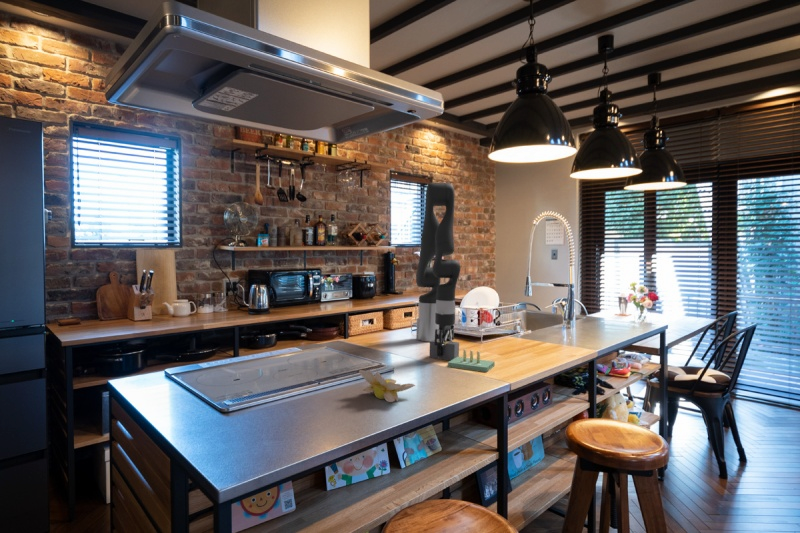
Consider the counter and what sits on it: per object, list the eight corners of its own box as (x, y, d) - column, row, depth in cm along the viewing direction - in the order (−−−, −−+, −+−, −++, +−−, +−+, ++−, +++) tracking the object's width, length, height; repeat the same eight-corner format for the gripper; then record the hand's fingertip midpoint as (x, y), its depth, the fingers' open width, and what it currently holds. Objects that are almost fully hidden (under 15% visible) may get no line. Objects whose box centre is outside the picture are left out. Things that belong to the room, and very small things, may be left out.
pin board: (447, 366, 158) (448, 351, 158) (457, 360, 167) (457, 346, 167) (486, 372, 152) (487, 355, 152) (494, 365, 161) (494, 350, 161)
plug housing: (429, 357, 172) (429, 341, 171) (434, 354, 176) (434, 339, 176) (454, 360, 167) (454, 344, 167) (458, 357, 172) (459, 342, 171)
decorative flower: (425, 393, 121) (417, 358, 120) (394, 412, 114) (386, 375, 113) (390, 384, 133) (383, 352, 131) (360, 400, 126) (352, 367, 124)
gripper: (442, 309, 179) (441, 349, 180) (428, 313, 166) (427, 356, 167) (460, 310, 176) (459, 351, 176) (447, 314, 163) (446, 359, 163)
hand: (444, 354), depth 171 cm, fingers open, 8 cm apart
